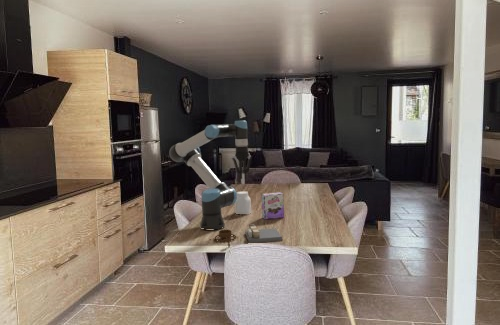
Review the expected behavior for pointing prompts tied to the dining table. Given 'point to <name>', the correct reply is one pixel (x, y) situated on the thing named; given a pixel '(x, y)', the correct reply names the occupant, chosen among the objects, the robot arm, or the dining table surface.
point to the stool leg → (254, 231)
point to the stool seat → (264, 235)
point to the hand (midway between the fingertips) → (243, 183)
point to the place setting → (225, 236)
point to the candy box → (272, 205)
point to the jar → (243, 203)
